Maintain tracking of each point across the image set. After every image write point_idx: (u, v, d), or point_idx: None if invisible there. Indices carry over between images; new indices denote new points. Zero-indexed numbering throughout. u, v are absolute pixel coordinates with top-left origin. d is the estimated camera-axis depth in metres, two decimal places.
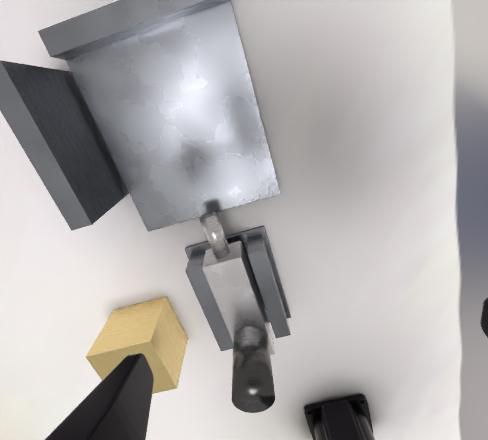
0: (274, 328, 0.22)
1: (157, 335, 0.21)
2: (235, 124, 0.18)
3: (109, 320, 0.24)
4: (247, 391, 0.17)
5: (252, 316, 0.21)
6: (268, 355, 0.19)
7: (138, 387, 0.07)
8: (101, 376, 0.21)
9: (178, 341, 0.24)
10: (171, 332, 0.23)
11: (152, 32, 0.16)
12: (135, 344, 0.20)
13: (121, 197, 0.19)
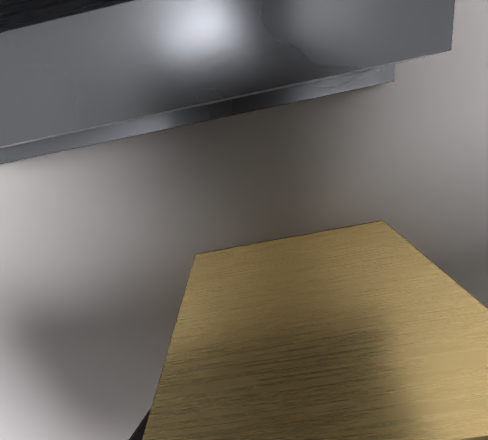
0: None
1: (196, 381, 0.04)
2: None
3: None
4: None
5: None
6: None
7: None
8: None
9: (349, 266, 0.06)
10: (285, 289, 0.06)
11: None
12: None
13: None
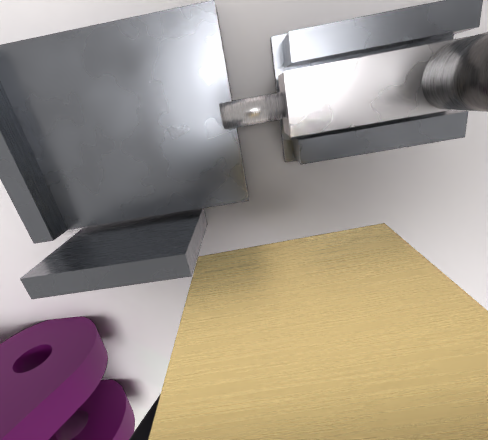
0: (454, 27, 0.12)
1: (201, 385, 0.04)
2: (117, 61, 0.14)
3: None
4: None
5: (404, 66, 0.12)
6: None
7: None
8: None
9: (351, 269, 0.06)
10: (287, 292, 0.06)
11: (31, 143, 0.16)
12: None
13: (197, 218, 0.17)
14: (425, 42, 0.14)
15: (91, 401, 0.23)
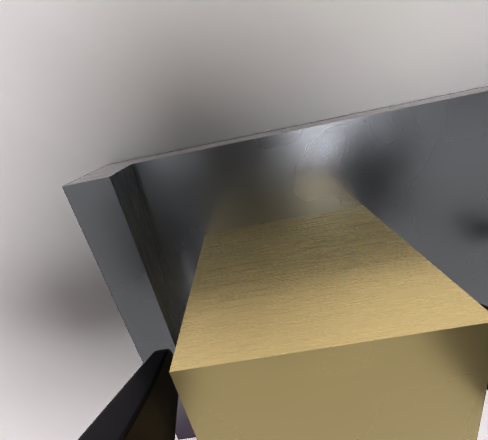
0: None
1: (212, 316, 0.05)
2: (351, 177, 0.08)
3: None
4: None
5: None
6: None
7: (167, 383, 0.07)
8: None
9: (332, 239, 0.07)
10: (279, 256, 0.07)
11: (181, 294, 0.10)
12: (189, 415, 0.05)
13: None
14: None
15: None
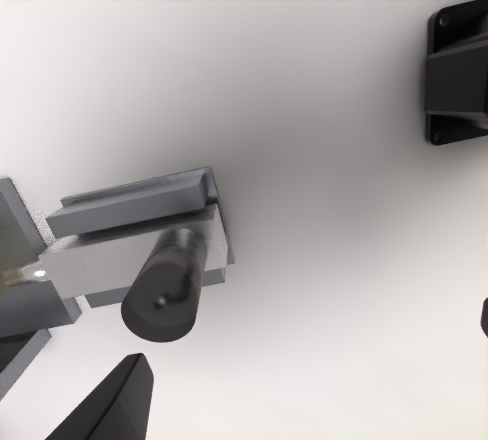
0: (183, 209, 0.15)
1: None
2: None
3: None
4: (141, 321, 0.10)
5: (137, 247, 0.14)
6: (157, 250, 0.12)
7: (138, 387, 0.07)
8: None
9: None
10: None
11: None
12: None
13: (24, 344, 0.19)
14: None
15: None
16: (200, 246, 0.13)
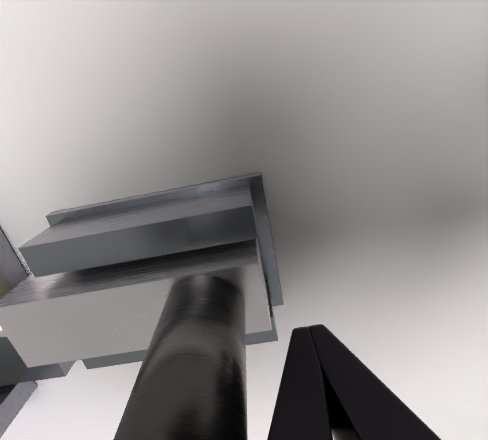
0: (227, 239, 0.10)
1: None
2: None
3: None
4: None
5: (139, 300, 0.09)
6: (172, 325, 0.07)
7: None
8: None
9: None
10: None
11: None
12: None
13: None
14: None
15: None
16: (238, 307, 0.08)
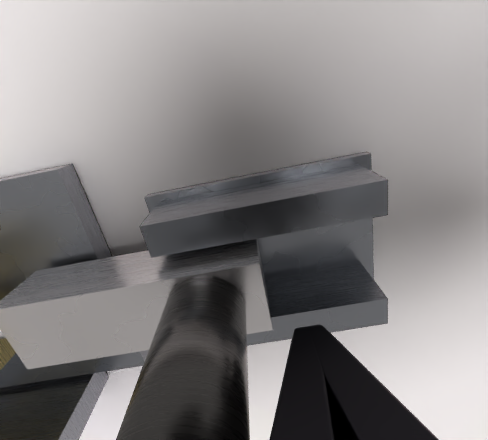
0: (355, 216, 0.09)
1: None
2: None
3: None
4: None
5: (139, 301, 0.09)
6: (173, 326, 0.07)
7: None
8: None
9: None
10: None
11: None
12: None
13: (81, 393, 0.14)
14: None
15: None
16: (239, 308, 0.08)
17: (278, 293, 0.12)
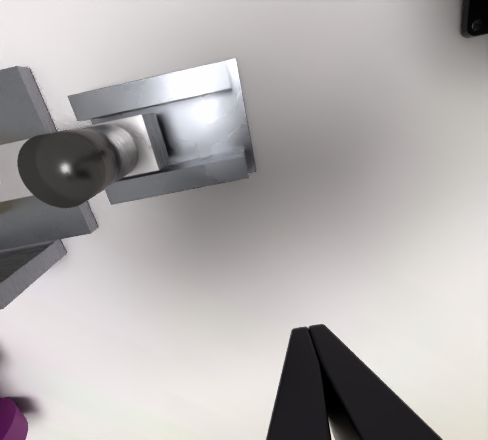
0: (210, 89, 0.14)
1: None
2: None
3: None
4: (40, 181, 0.10)
5: None
6: None
7: None
8: None
9: None
10: None
11: None
12: None
13: (41, 251, 0.18)
14: (218, 94, 0.16)
15: None
16: (125, 139, 0.13)
17: (178, 165, 0.17)
